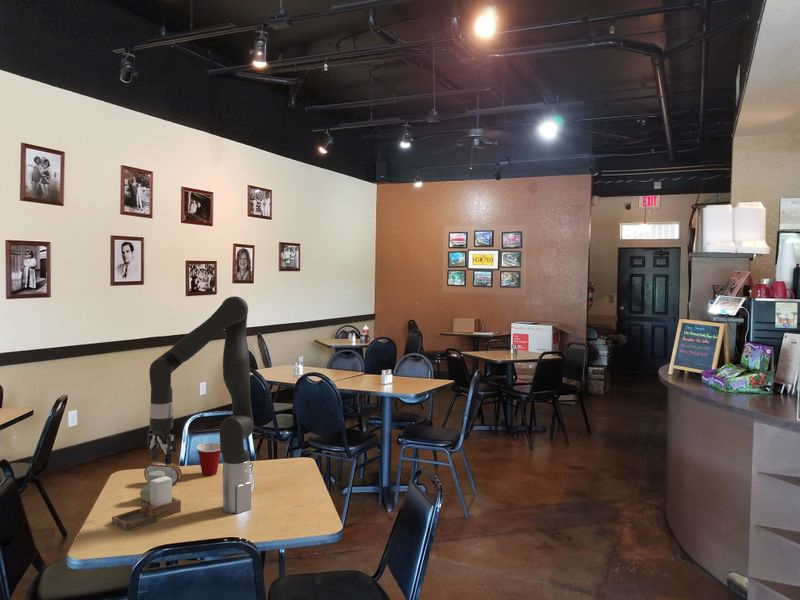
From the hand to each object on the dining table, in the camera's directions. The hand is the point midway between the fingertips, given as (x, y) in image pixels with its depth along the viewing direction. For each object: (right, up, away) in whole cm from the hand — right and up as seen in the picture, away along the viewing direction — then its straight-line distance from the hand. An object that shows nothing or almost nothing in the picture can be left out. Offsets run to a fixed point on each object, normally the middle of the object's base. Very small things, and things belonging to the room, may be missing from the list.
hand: (161, 461), depth 207 cm
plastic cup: (+3, -17, +43) cm, 47 cm away
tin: (-12, -17, +31) cm, 37 cm away
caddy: (-2, -18, -3) cm, 18 cm away
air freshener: (-7, -18, +13) cm, 23 cm away
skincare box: (0, -18, 0) cm, 18 cm away
